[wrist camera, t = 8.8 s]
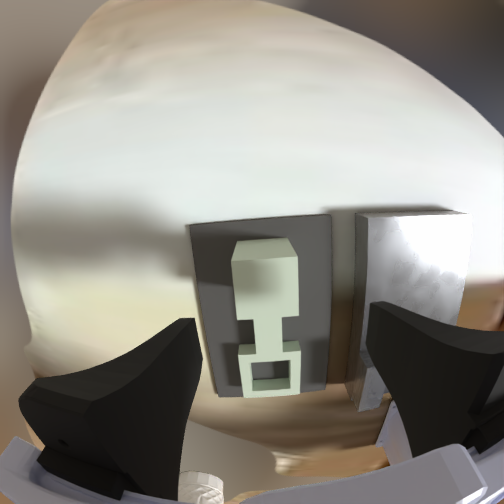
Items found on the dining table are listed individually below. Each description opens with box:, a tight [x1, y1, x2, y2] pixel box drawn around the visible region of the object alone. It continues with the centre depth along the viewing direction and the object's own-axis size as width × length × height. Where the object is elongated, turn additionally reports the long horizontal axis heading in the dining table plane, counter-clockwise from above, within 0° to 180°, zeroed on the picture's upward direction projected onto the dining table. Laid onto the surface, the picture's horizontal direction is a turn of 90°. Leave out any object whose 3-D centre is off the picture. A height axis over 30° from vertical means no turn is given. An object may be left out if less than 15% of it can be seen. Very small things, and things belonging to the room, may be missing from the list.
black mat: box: [190, 215, 332, 397], centre depth 21 cm, size 16×10×1 cm, turn 5°
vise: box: [345, 211, 472, 412], centre depth 18 cm, size 16×10×6 cm, turn 5°
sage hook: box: [231, 238, 301, 398], centre depth 18 cm, size 13×5×5 cm, turn 4°
